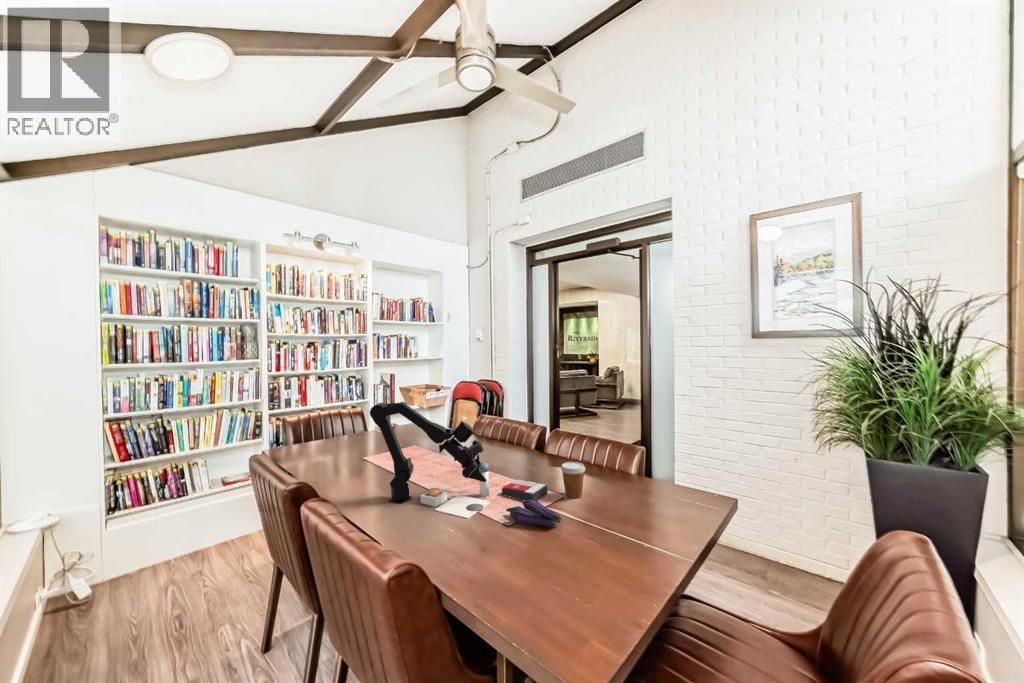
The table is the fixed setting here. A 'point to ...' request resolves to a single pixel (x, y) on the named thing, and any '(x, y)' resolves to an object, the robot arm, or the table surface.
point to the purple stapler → (534, 514)
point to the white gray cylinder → (485, 472)
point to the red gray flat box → (525, 490)
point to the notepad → (462, 506)
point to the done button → (434, 492)
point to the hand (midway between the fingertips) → (485, 477)
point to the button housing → (434, 499)
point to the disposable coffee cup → (573, 479)
